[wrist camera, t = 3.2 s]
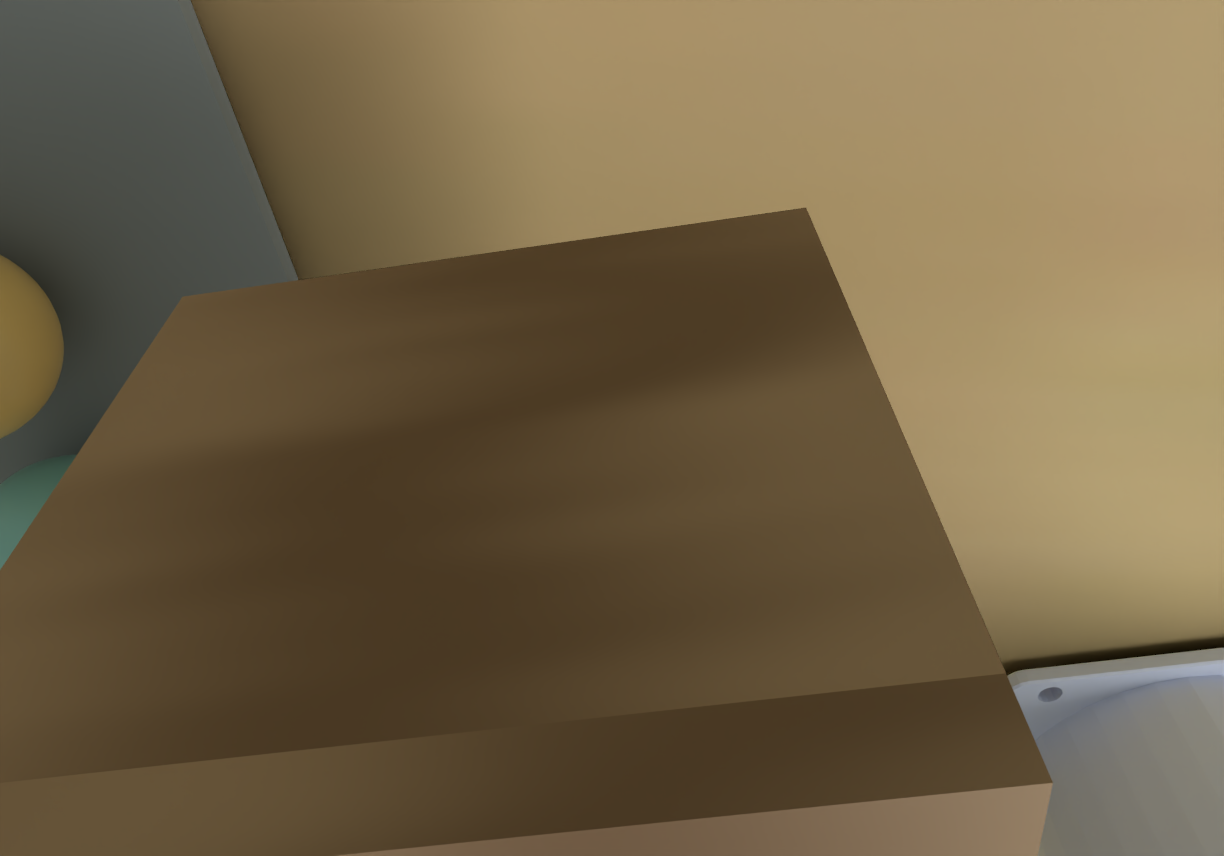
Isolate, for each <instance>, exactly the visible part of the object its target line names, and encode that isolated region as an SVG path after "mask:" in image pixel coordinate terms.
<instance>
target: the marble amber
mask: <svg viewBox="0 0 1224 856" xmlns="http://www.w3.org/2000/svg"><path fill="white" fill-rule="evenodd" d="M63 356H64V341H63V335H62V330H61V325H60V322H59V319H58V316H57V314H56V312H55V309H54V307H53V305H52V303H51V302H50V300H49V298H48V297H47V295H46V294H45V292H44V291H43V290H42V288H41V287H40V286H39V285H38V283H37V282H36V281H35V280H34V279H33V278H32V277H31V276H30V275H29V274H28V273H26V272H25V271H24V270H23V269H21V268H20V267H19V266H18V265H16V264H15V263H13V262H12V261H10V260H9V259H7V258H5V257H3V256H2V255H0V439H1V438H3V437H5V436H7V435H9V434H11V433H12V432H14V431H16V430H18V429H19V428H20V427H22V426H23V425H24V424H26V423H27V422H28V421H29V420H31V419H32V418H33V417H34V416H35V415H36V414H37V413H38V412H39V411H40V409H41V408H42V407H43V406H44V405H45V404H46V402H47V401H48V399H49V397H50V396H51V394H52V392H53V391H54V389H55V387H56V384H57V382H58V379H59V376H60V373H61V370H62V364H63Z"/></svg>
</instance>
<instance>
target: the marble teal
mask: <svg viewBox="0 0 1224 856" xmlns="http://www.w3.org/2000/svg"><path fill="white" fill-rule="evenodd" d="M76 456H77V455H65V456H59V457H53V458H48V459H45V460H42V461H39V462H36V463H34V464H31V465H29V466H27V467H25V468H23V469H21V470H19V471H18V472H16V473H14V474H13V475H12V476H10V477H9V478H7V479H6V480H5V481H4V482H3V483H1V484H0V569H1V568H2V566H3V565H4V564H5V562H6V561H7V559H8V558H9V556H10V555H11V553H12V552H13V550H14V549H15V547H16V546H17V544H18V543H19V541H20V540H21V538H22V537H23V535H24V534H25V532H26V531H27V529H28V528H29V526H30V525H31V523H32V522H33V520H34V519H35V517H36V516H37V514H38V513H39V511H40V510H41V508H42V507H43V505H44V504H45V502H46V501H47V499H48V498H49V496H50V495H51V493H52V492H53V490H54V489H55V487H56V486H57V484H58V483H59V481H60V480H61V478H62V477H63V475H64V474H65V472H66V471H67V469H68V468H69V466H70V465H71V463H72V462H73V460H74V459H75V457H76Z"/></svg>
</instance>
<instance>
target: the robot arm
mask: <svg viewBox="0 0 1224 856" xmlns="http://www.w3.org/2000/svg"><path fill="white" fill-rule="evenodd" d="M1007 677H1008V679H1009V682H1010V684H1011V686H1012V689H1013V691H1014V693H1015V696H1016V698H1017V700H1018V702H1019V705H1020V707H1021V709H1022V712H1023V714H1024V716H1025V719H1026V721H1027V723H1028V726H1029V728H1030V730H1031V733H1032V735H1033V737H1034V740H1035V742H1036V744H1037V747H1038V749H1039V751H1040V754H1041V756H1042V758H1043V761H1044V763H1045V765H1046V768H1047V770H1048V772H1049V775H1050V777H1051V779H1052V782H1053V785H1052V790H1051V795H1050V800H1049V804H1048V809H1047V814H1046V818H1045V823H1044V828H1043V833H1042V837H1041V842H1040V847H1039V852H1038V856H1224V647H1223V648H1214V649H1205V650H1196V651H1187V652H1178V653H1169V654H1160V655H1151V656H1142V657H1133V658H1124V659H1115V660H1106V661H1097V662H1088V663H1079V664H1070V665H1061V666H1052V667H1043V668H1034V669H1025V670H1020V671H1016V672H1013V673H1011V674H1009V675H1007Z"/></svg>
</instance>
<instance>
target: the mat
mask: <svg viewBox="0 0 1224 856" xmlns="http://www.w3.org/2000/svg"><path fill="white" fill-rule="evenodd" d="M0 255H2V256H3V257H5V258H7V259H9V260H10V261H12V262H13V263H15V264H16V265H18V266H19V267H20V268H21V269H23V270H24V271H25V272H26V273H28V274H29V275H30V276H31V277H32V278H33V279H34V280H35V281H36V282H37V283H38V285H39V286H40V287H41V288H42V290H43V291H44V292H45V294H46V295H47V297H48V298H49V300H50V302H51V303H52V305H53V307H54V309H55V312H56V314H57V316H58V319H59V322H60V325H61V330H62V335H63V341H64V356H63V364H62V370H61V373H60V376H59V379H58V382H57V384H56V387H55V389H54V391H53V392H52V394H51V396H50V397H49V399H48V401H47V402H46V404H45V405H44V406H43V407H42V408H41V409H40V411H39V412H38V413H37V414H36V415H35V416H34V417H33V418H32V419H31V420H29V421H28V422H27V423H26V424H24V425H23V426H22V427H20V428H19V429H18V430H16V431H14V432H12V433H11V434H9V435H7V436H5V437H3V438H1V439H0V484H1V483H3V482H4V481H5V480H6V479H7V478H9V477H10V476H12V475H13V474H14V473H16V472H18V471H19V470H21V469H23V468H25V467H27V466H29V465H31V464H34V463H36V462H39V461H42V460H45V459H48V458H53V457H59V456H65V455H77V454H78V453H79V451H80V450H81V448H82V447H83V445H84V444H85V442H86V441H87V439H88V438H89V436H90V435H91V433H92V432H93V430H94V429H95V427H96V426H97V424H98V423H99V421H100V420H101V418H102V417H103V415H104V414H105V412H106V411H107V409H108V408H109V406H110V405H111V403H112V402H113V400H114V399H115V397H116V396H117V394H118V393H119V391H120V390H121V388H122V387H123V385H124V384H125V382H126V381H127V379H128V378H129V376H130V375H131V373H132V372H133V370H134V369H135V367H136V366H137V364H138V363H139V361H140V360H141V358H142V357H143V355H144V354H145V352H146V351H147V349H148V348H149V346H150V345H151V343H152V342H153V340H154V339H155V337H156V336H157V334H158V333H159V331H160V330H161V328H162V327H163V325H164V324H165V322H166V321H167V319H168V318H169V316H170V315H171V313H172V312H173V310H174V309H175V307H176V306H177V304H178V303H179V301H180V300H181V298H182V297H184V296H191V295H198V294H205V293H212V292H219V291H226V290H233V289H240V288H247V287H254V286H261V285H268V284H275V283H282V282H289V281H296V280H298V277H297V274H296V272H295V269H294V267H293V264H292V262H291V259H290V256H289V254H288V251H287V249H286V246H285V243H284V241H283V238H282V236H281V233H280V231H279V228H278V225H277V223H276V220H275V218H274V215H273V212H272V210H271V207H270V205H269V202H268V200H267V197H266V194H265V192H264V189H263V187H262V184H261V181H260V179H259V176H258V174H257V171H256V169H255V166H254V163H253V161H252V158H251V156H250V153H249V150H248V148H247V145H246V143H245V140H244V138H243V135H242V132H241V130H240V127H239V125H238V122H237V119H236V117H235V114H234V112H233V109H232V107H231V104H230V101H229V99H228V96H227V94H226V91H225V88H224V86H223V83H222V81H221V78H220V75H219V73H218V70H217V68H216V65H215V63H214V60H213V57H212V55H211V52H210V50H209V47H208V44H207V42H206V39H205V37H204V34H203V32H202V29H201V26H200V24H199V21H198V19H197V16H196V13H195V11H194V8H193V6H192V3H191V1H190V0H0Z"/></svg>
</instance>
